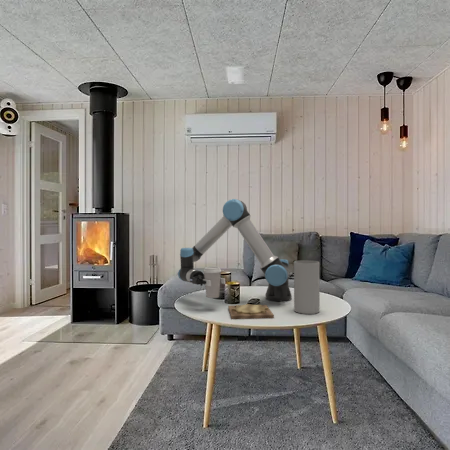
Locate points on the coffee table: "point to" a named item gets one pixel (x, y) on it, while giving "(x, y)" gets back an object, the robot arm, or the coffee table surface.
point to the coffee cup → (212, 281)
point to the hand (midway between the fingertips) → (217, 282)
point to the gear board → (250, 312)
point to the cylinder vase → (306, 287)
